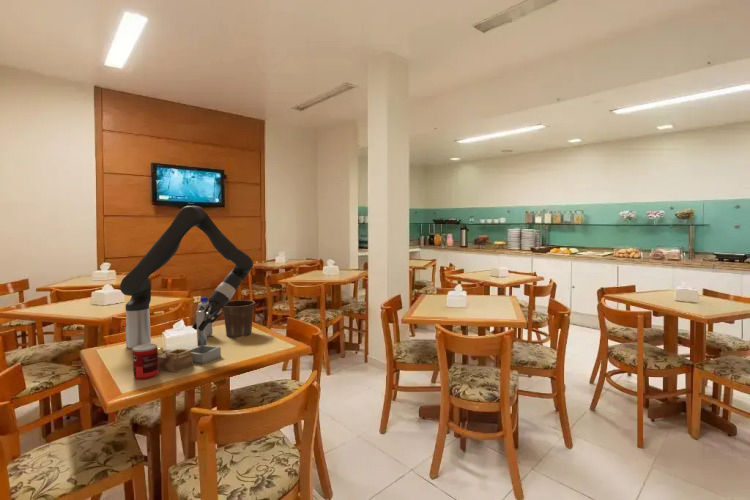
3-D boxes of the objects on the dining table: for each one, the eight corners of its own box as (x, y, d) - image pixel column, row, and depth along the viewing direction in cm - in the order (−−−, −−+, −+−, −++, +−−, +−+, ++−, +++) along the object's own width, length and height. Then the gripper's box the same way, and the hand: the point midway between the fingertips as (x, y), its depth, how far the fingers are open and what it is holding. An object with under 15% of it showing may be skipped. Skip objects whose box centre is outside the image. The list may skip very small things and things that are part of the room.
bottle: (207, 338, 189) (206, 298, 188) (195, 337, 190) (193, 297, 189) (215, 334, 196) (214, 295, 194) (204, 334, 197) (202, 295, 196)
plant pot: (262, 333, 196) (261, 302, 196) (232, 341, 184) (231, 307, 183) (245, 328, 207) (244, 298, 206) (216, 335, 195) (215, 303, 194)
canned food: (140, 372, 145) (138, 343, 145) (162, 371, 146) (161, 343, 145) (129, 380, 138) (127, 350, 137) (152, 379, 138) (151, 349, 138)
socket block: (145, 367, 150) (144, 351, 150) (162, 360, 158) (161, 345, 157) (177, 372, 145) (176, 355, 144) (193, 365, 152) (193, 349, 152)
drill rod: (195, 345, 158) (193, 312, 157) (202, 343, 162) (200, 310, 161) (202, 346, 157) (200, 312, 156) (208, 343, 160) (207, 310, 159)
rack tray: (183, 361, 157) (183, 352, 156) (202, 353, 166) (201, 344, 166) (202, 364, 153) (202, 354, 153) (220, 356, 163) (220, 347, 162)
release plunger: (153, 363, 152) (152, 349, 152) (159, 360, 155) (159, 347, 155) (159, 363, 151) (158, 350, 151) (165, 361, 154) (164, 347, 154)
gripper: (206, 288, 168) (180, 322, 159) (226, 291, 160) (200, 326, 151) (218, 298, 173) (193, 331, 164) (237, 301, 165) (213, 336, 155)
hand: (196, 329), depth 157 cm, fingers closed on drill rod, 3 cm apart
